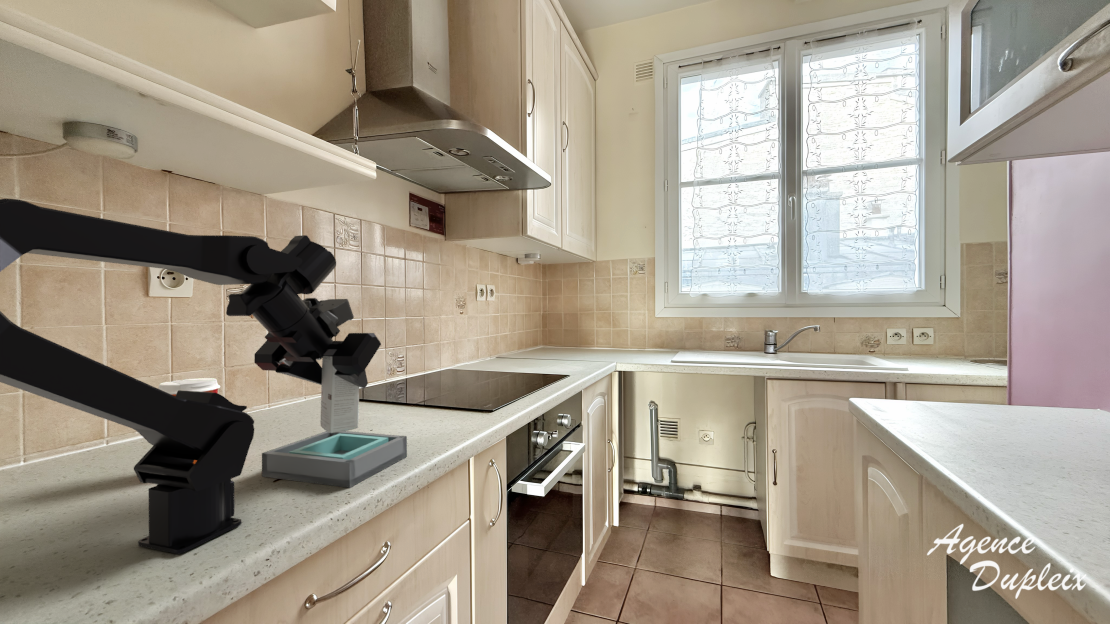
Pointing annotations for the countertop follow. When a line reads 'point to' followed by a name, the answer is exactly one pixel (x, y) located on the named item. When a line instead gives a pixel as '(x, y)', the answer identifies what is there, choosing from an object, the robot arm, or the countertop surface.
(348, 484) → the crate
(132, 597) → the countertop surface
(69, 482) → the countertop surface
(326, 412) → the skincare box
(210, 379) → the paper cup
